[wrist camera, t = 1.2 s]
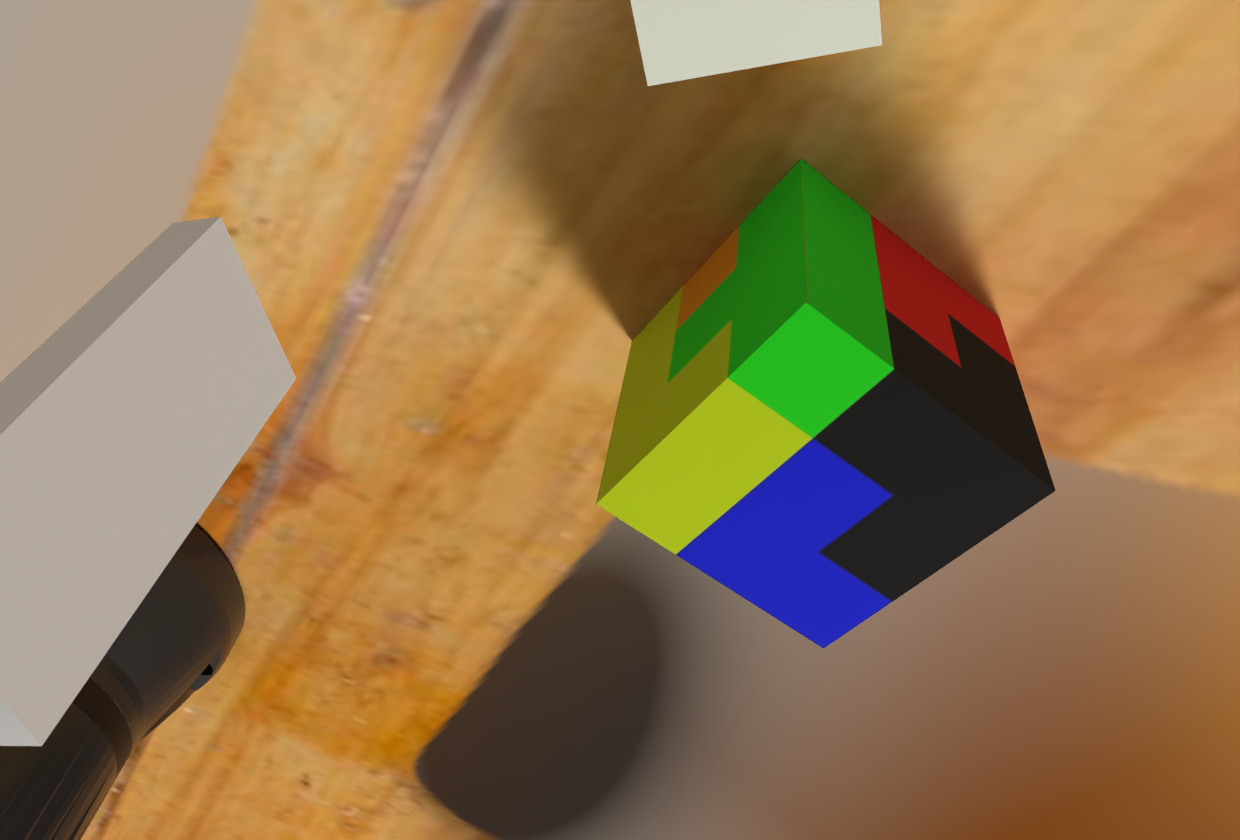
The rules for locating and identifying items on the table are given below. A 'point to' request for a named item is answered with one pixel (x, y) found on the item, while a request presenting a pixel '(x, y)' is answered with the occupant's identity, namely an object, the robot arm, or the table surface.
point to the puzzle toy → (821, 416)
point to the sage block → (746, 33)
